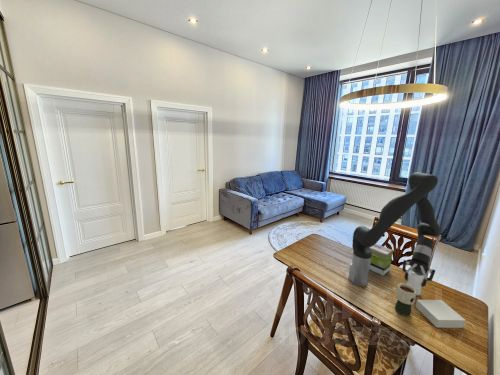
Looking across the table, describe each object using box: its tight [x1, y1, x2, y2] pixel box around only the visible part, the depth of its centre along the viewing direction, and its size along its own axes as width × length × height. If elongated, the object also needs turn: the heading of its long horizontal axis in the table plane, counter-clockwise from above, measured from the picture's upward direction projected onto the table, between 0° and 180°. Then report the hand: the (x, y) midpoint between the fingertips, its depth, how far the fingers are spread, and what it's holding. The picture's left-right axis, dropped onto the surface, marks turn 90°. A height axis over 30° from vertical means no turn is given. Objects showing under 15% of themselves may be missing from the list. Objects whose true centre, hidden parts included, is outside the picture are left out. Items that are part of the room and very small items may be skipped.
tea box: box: [369, 243, 394, 277], centre depth 136 cm, size 15×10×15 cm, turn 37°
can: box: [405, 269, 424, 296], centre depth 114 cm, size 6×6×12 cm
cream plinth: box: [415, 299, 466, 329], centre depth 99 cm, size 12×12×4 cm
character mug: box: [394, 283, 416, 317], centre depth 101 cm, size 11×7×13 cm, turn 133°
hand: (414, 283), depth 112 cm, fingers closed on can, 6 cm apart
